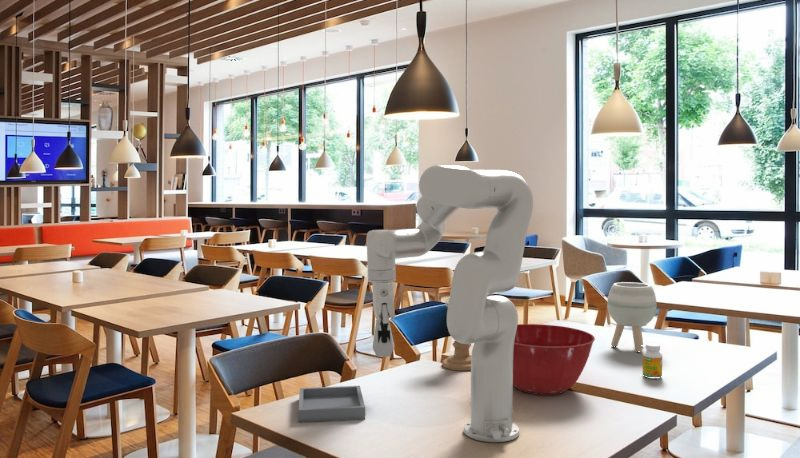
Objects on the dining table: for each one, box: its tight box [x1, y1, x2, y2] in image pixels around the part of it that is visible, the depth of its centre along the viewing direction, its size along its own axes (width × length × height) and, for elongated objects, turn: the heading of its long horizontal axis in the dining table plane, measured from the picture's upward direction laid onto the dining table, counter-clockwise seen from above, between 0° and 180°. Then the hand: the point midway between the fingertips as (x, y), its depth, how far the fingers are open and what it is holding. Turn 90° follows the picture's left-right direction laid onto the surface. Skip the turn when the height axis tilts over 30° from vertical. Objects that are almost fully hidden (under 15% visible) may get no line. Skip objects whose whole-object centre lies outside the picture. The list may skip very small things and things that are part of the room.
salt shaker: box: [372, 317, 395, 358], centre depth 184 cm, size 6×6×13 cm
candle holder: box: [441, 300, 472, 372], centre depth 214 cm, size 12×12×20 cm
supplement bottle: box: [642, 342, 663, 377], centre depth 201 cm, size 5×5×10 cm
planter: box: [606, 281, 658, 352], centre depth 236 cm, size 16×16×22 cm
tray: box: [298, 385, 366, 423], centre depth 173 cm, size 18×16×3 cm
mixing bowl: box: [513, 323, 596, 396], centre depth 190 cm, size 28×28×16 cm
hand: (383, 343), depth 184 cm, fingers closed on salt shaker, 3 cm apart
